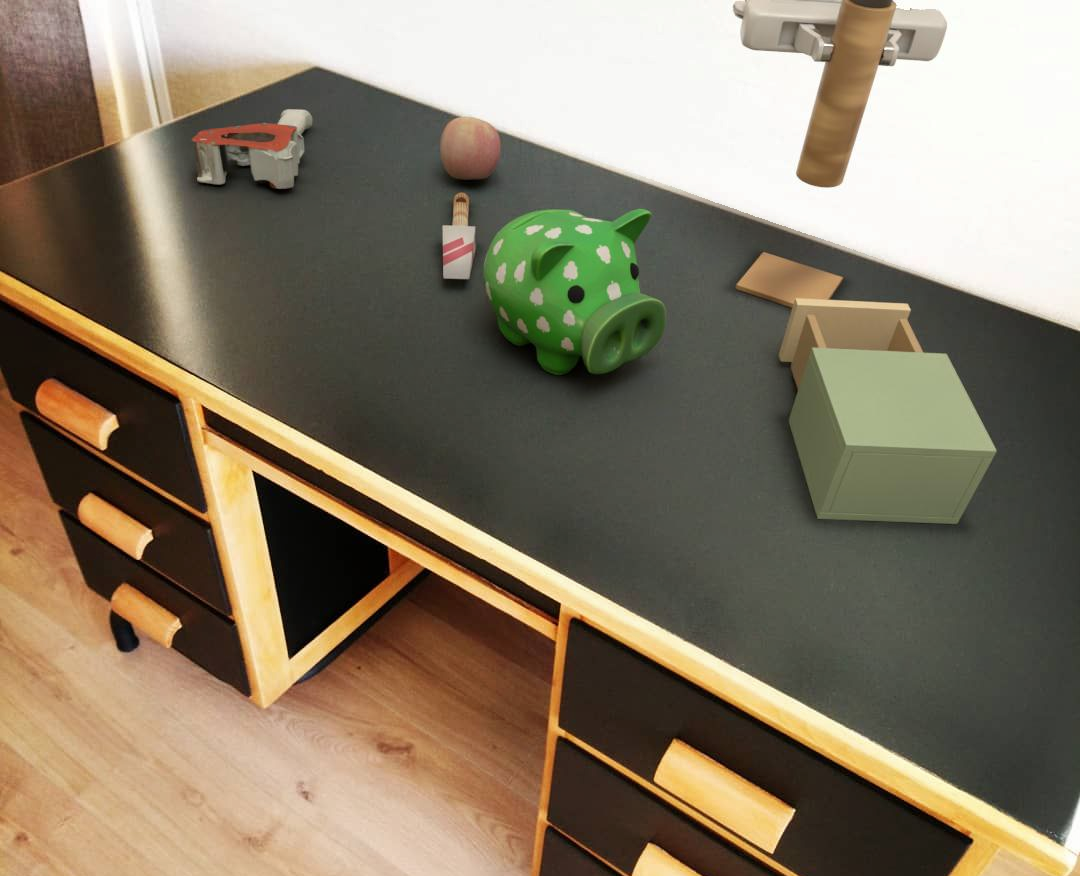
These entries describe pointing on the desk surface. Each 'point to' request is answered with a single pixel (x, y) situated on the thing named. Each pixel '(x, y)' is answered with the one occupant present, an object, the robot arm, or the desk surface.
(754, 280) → the cork mat
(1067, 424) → the desk surface
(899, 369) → the cabinet
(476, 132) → the apple
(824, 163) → the pepper mill
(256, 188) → the desk surface
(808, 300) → the drawer
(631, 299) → the piggy bank
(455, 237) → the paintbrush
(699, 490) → the desk surface
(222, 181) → the tape dispenser
